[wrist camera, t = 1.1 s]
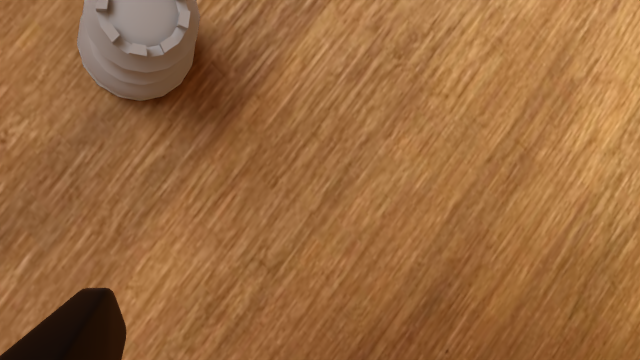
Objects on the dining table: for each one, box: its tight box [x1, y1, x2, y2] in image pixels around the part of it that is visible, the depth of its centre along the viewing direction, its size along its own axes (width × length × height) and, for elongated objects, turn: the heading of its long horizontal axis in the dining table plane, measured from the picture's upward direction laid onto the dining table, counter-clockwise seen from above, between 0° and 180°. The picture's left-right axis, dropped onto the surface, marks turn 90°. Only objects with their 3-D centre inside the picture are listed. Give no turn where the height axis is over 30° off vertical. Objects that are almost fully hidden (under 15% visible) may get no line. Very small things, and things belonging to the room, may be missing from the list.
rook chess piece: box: [77, 0, 200, 101], centre depth 20 cm, size 4×4×8 cm
